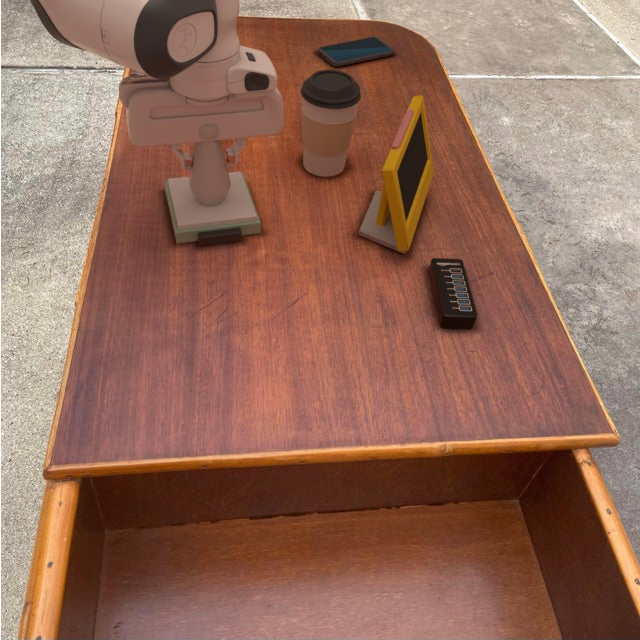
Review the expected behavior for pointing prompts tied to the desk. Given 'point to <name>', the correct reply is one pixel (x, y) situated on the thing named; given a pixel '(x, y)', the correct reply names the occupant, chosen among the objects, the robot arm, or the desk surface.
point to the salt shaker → (209, 169)
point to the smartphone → (355, 51)
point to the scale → (212, 213)
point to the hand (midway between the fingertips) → (209, 164)
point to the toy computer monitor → (402, 183)
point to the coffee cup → (328, 120)
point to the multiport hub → (452, 294)
